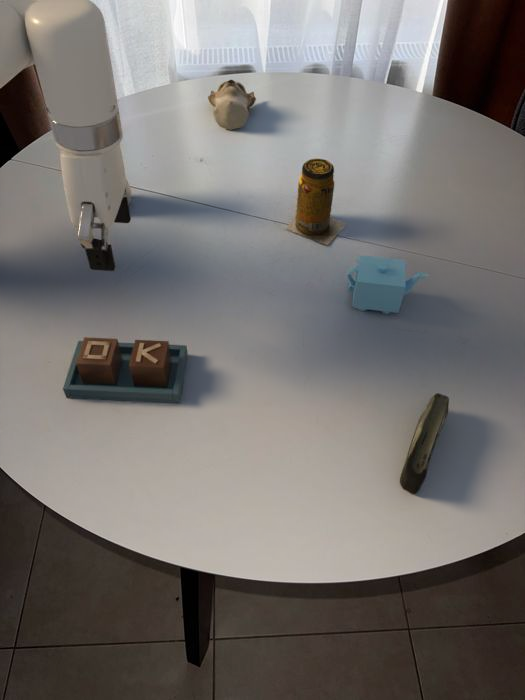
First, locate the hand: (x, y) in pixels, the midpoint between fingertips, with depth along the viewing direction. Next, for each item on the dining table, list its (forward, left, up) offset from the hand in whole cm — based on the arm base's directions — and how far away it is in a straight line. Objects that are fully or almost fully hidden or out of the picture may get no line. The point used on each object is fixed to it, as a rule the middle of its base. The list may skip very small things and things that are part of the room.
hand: (111, 244), depth 78 cm
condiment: (+29, +24, -15) cm, 40 cm away
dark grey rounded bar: (+42, -20, -15) cm, 49 cm away
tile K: (+6, -11, -14) cm, 19 cm away
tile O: (-1, -11, -14) cm, 18 cm away
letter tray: (+2, -11, -15) cm, 18 cm away
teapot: (+39, +6, -15) cm, 42 cm away
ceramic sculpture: (+11, +61, -15) cm, 64 cm away
